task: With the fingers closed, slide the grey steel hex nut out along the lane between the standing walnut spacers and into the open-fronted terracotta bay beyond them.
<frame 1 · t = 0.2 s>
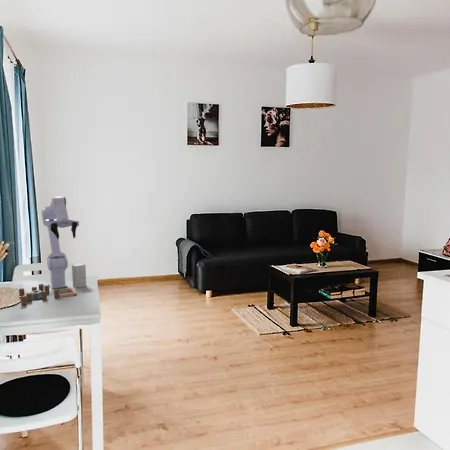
hand: (66, 237, 229), 31 cm above the table, tool tilted 45°, fingers open, 7 cm apart
steel nut: (36, 297, 237), on the table
skincare box: (79, 286, 259), on the table
parts bay: (64, 293, 244), on the table
walnut spacers: (36, 297, 237), on the table
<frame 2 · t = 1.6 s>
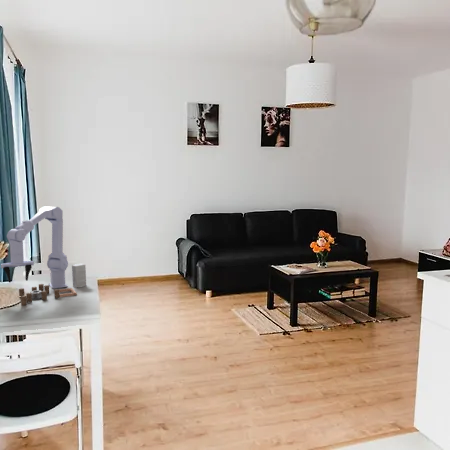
hand: (18, 281, 232), 10 cm above the table, tool pointing down, fingers open, 7 cm apart
nothing on the table moved.
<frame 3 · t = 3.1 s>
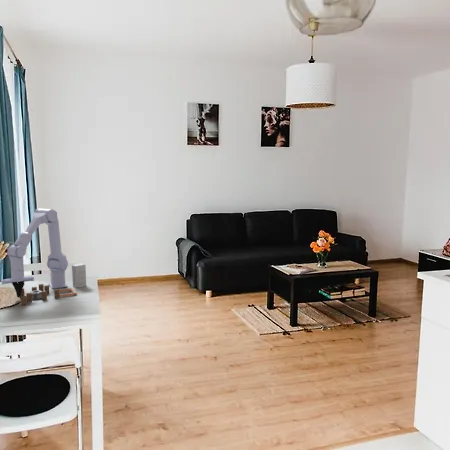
hand: (18, 296, 233), 2 cm above the table, tool pointing down, fingers closed
nothing on the table moved.
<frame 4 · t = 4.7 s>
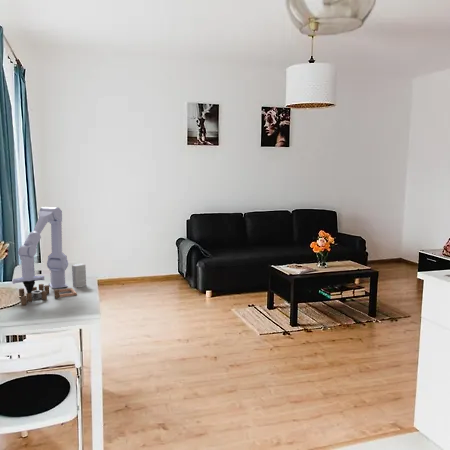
hand: (29, 295, 236), 1 cm above the table, tool pointing down, fingers closed
steel nut: (37, 297, 238), on the table, touching gripper
everything else where it was.
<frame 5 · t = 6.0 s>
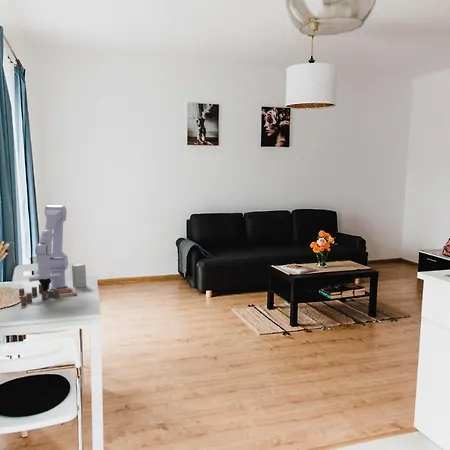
hand: (45, 293, 239), 1 cm above the table, tool pointing down, fingers closed
steel nut: (52, 295, 241), on the table, touching gripper
everything else where it was.
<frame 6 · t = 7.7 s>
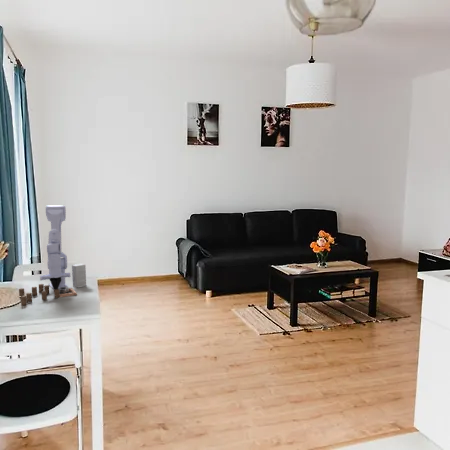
hand: (55, 292, 242), 1 cm above the table, tool pointing down, fingers closed
steel nut: (63, 294, 244), on the table, touching gripper
everything else where it was.
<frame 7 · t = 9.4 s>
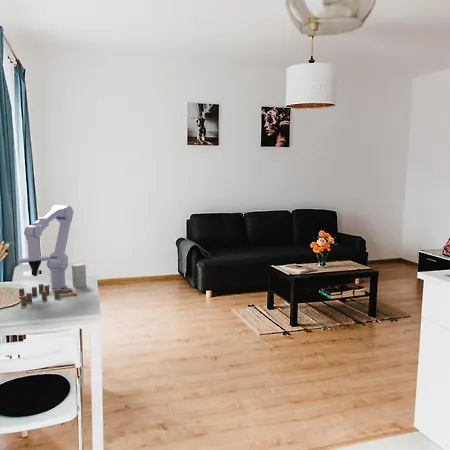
hand: (35, 275, 239), 10 cm above the table, tool pointing down, fingers closed
steel nut: (63, 294, 244), on the table
everything else where it was.
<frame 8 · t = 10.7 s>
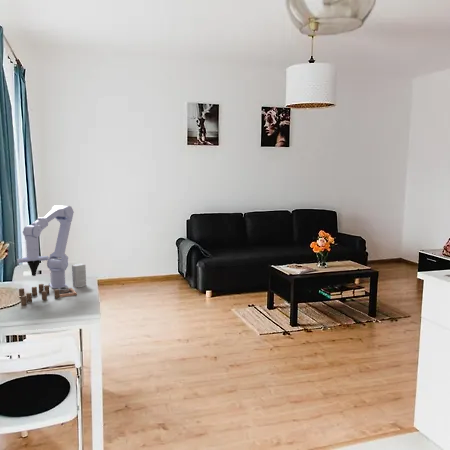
hand: (33, 275, 239), 10 cm above the table, tool pointing down, fingers closed
nothing on the table moved.
at the end: steel nut inside the target area on the parts bay (0.4 cm from its centre), point 0.0 cm above the parts bay's base; steel nut moved 13.0 cm from its start; steel nut tilted 0° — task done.
